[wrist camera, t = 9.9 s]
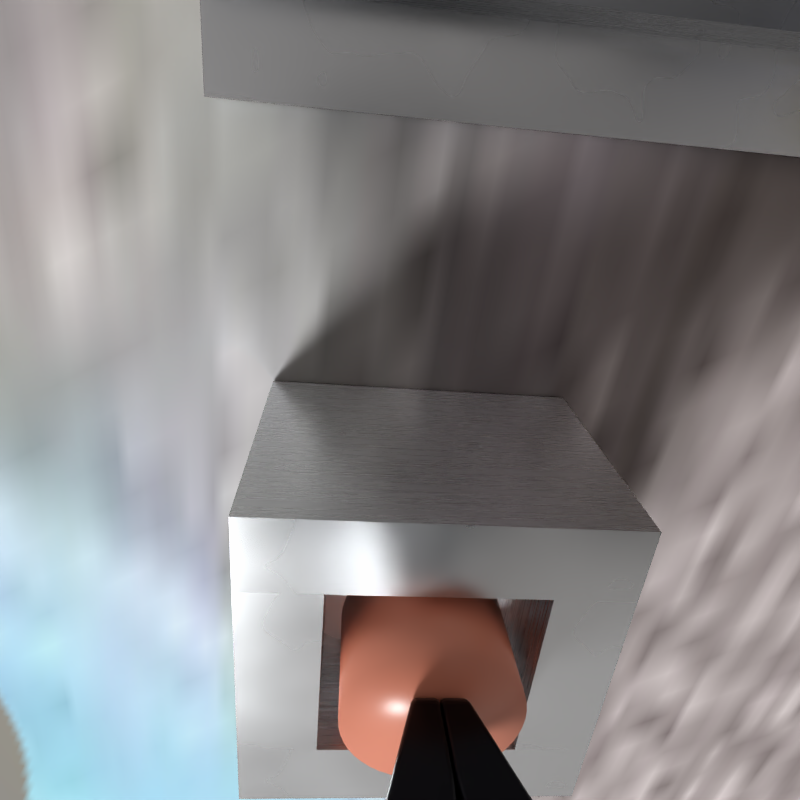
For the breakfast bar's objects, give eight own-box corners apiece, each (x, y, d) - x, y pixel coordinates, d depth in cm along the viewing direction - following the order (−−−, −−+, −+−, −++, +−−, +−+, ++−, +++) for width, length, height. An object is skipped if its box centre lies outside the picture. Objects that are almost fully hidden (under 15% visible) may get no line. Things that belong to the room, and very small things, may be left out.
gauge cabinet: (562, 398, 12) (661, 532, 8) (513, 612, 15) (571, 796, 11) (273, 381, 12) (228, 515, 8) (272, 607, 14) (238, 798, 10)
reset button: (510, 555, 10) (543, 651, 8) (485, 673, 11) (510, 777, 9) (345, 551, 10) (343, 647, 8) (337, 671, 11) (333, 779, 9)
